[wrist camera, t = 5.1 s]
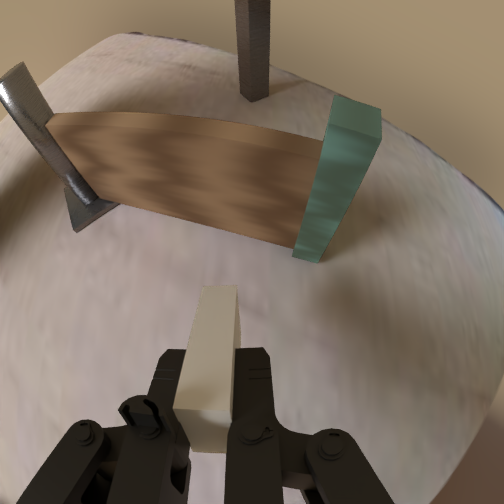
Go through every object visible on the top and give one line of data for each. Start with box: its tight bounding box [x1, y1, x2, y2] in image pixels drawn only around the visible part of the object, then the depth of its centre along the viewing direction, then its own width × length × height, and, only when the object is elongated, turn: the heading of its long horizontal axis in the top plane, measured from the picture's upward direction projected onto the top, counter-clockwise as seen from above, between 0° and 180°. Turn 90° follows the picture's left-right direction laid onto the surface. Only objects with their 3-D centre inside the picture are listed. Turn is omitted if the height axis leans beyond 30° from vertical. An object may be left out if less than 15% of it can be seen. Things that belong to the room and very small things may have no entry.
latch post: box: [235, 0, 270, 102], centre depth 22 cm, size 2×2×16 cm
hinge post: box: [0, 62, 120, 233], centre depth 17 cm, size 6×6×16 cm
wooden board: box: [45, 95, 382, 263], centre depth 16 cm, size 20×2×13 cm, turn 73°
